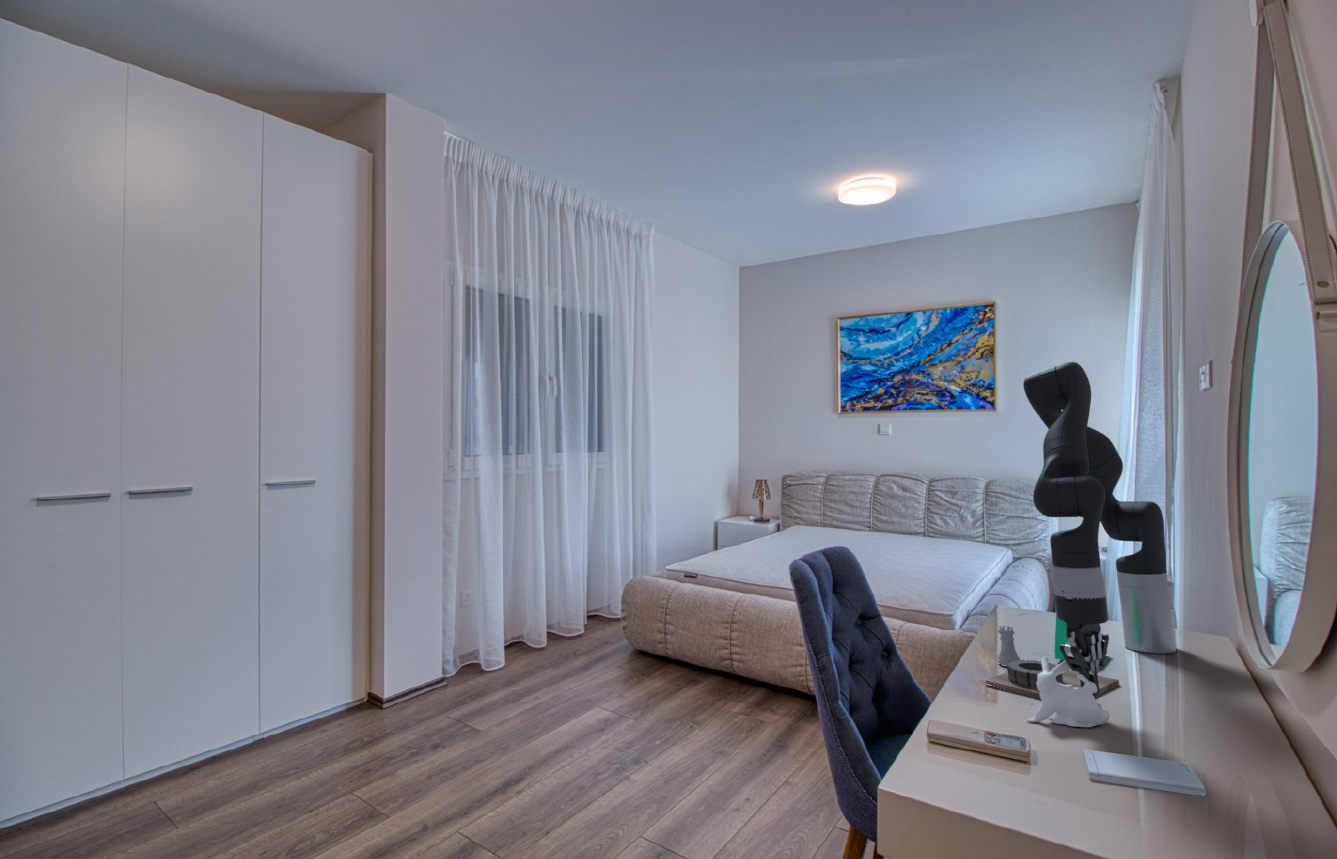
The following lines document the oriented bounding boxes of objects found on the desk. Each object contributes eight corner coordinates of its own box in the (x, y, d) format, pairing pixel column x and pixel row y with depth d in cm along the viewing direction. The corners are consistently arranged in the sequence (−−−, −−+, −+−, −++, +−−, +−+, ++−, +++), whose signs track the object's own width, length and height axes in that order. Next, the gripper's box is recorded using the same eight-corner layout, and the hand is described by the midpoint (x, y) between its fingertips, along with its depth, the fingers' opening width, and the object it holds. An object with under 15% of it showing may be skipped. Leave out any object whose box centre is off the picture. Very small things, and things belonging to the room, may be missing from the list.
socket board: (1033, 666, 133) (1031, 650, 133) (1119, 684, 119) (1117, 666, 120) (985, 685, 123) (984, 667, 123) (1073, 707, 110) (1071, 686, 110)
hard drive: (1188, 761, 86) (1081, 746, 92) (1205, 788, 79) (1088, 770, 85) (1190, 773, 86) (1082, 758, 92) (1207, 801, 79) (1089, 782, 85)
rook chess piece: (1019, 662, 136) (1015, 625, 137) (1023, 668, 132) (1019, 629, 133) (996, 661, 138) (992, 624, 139) (999, 667, 134) (996, 629, 134)
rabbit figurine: (1025, 722, 104) (1019, 662, 106) (1026, 708, 111) (1020, 652, 112) (1112, 732, 98) (1105, 669, 100) (1108, 717, 105) (1101, 658, 106)
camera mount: (1097, 669, 129) (1092, 619, 130) (1055, 663, 135) (1050, 615, 136) (1108, 656, 138) (1103, 609, 139) (1068, 651, 143) (1064, 605, 144)
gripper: (1074, 584, 114) (1084, 681, 113) (1037, 595, 107) (1048, 699, 106) (1121, 589, 108) (1133, 692, 107) (1085, 600, 101) (1097, 711, 99)
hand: (1090, 695), depth 106 cm, fingers closed
